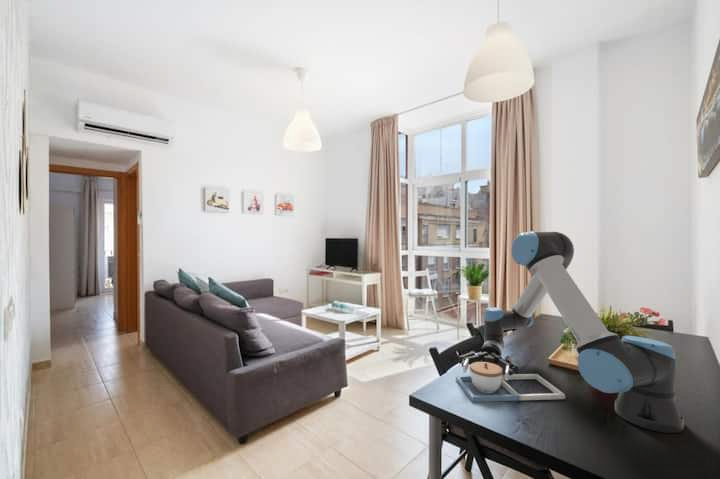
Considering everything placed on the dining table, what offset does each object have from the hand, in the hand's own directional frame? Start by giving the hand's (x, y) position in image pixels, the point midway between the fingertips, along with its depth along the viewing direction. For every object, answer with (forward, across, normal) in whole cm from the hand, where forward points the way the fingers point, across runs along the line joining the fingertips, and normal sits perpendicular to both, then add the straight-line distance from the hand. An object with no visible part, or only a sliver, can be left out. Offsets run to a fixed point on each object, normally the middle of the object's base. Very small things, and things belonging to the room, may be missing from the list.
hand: (484, 372), depth 110 cm
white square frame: (-11, -13, -7) cm, 18 cm away
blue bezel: (-3, 0, -7) cm, 8 cm away
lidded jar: (-3, 0, -7) cm, 8 cm away
